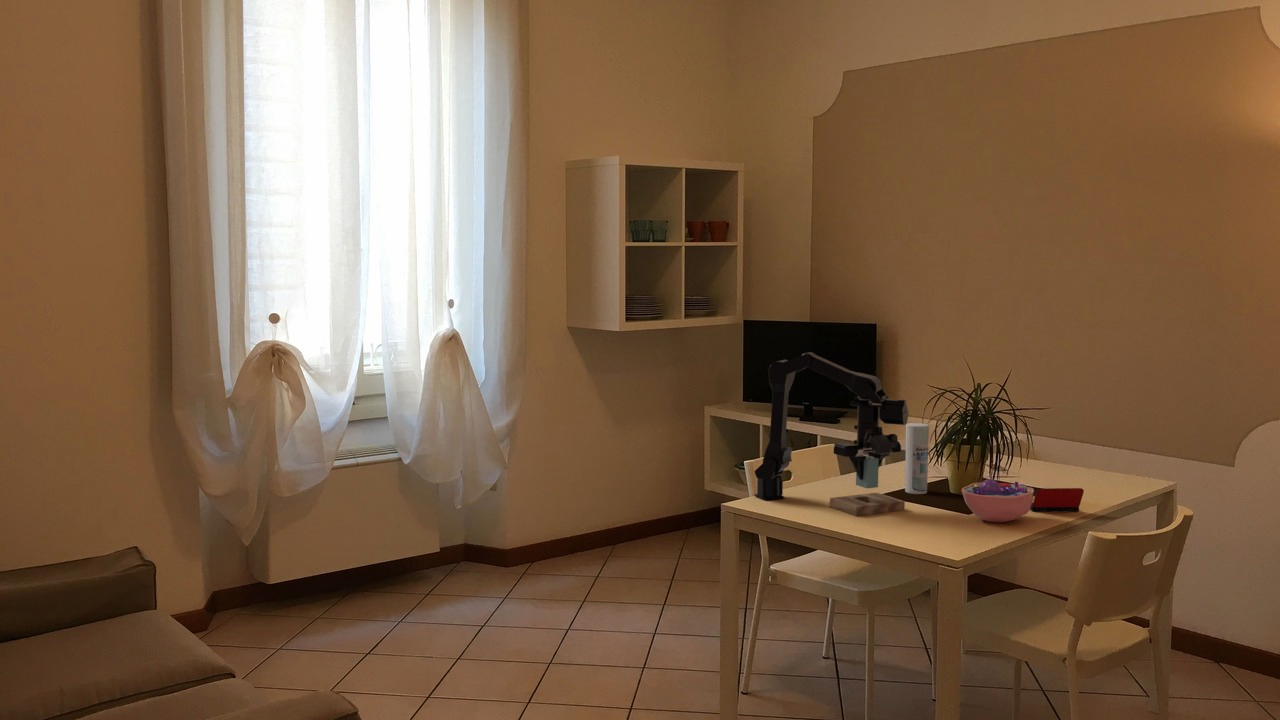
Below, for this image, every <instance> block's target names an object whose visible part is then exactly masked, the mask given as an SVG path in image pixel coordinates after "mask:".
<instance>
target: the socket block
mask: <svg viewBox="0 0 1280 720" xmlns="http://www.w3.org/2000/svg"><path fill="white" fill-rule="evenodd" d="M905 504H906V502H905V500H901V499H898V498H895V497H892V496H889V495H886V494H883V493H879V492H870V493H861V494H854V495H845V496H835V497H829V507H830V508H831V507H833V508H832V509H834V508H835V509H834V510H837V509H838V510H837V511H841V512H843V513H846V514H849V515H851V516H854V517H862V516H870V515H877V514H885V513H893V512H894V513H895V512H901V511H903V512H904V511H905V507H906V506H905Z"/></svg>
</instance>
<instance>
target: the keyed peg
mask: <svg viewBox="0 0 1280 720" xmlns="http://www.w3.org/2000/svg"><path fill="white" fill-rule="evenodd" d="M863 456H867V457H866V459H865V460H864V474H863V480H860V479H859V477H858V475H857V472H856V471H855V486H859V487H860V488H861V487H862V488H863V489H876V488H879V468H878V463H879V458H876V457H872V456H869V454H865V453H863Z"/></svg>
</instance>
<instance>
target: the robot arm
mask: <svg viewBox="0 0 1280 720" xmlns="http://www.w3.org/2000/svg"><path fill="white" fill-rule="evenodd" d="M806 369H809V370H812V371H814V372H816V373H818V374H820V375H823V376H825V377H827V378H828V379H830V380H833V381H835V382H838V383H840V384H842V385H844V386H846V387H847V388H848V389H849V390H850V392H852V393H853V394H854V395H856V396H855V398H854V399H853V400H852V401H851V402H849V405H850V406H853V407H854V406H855V407H857V417H856V419H857V424H854V427H853V428H854V430H856V439H854V440H853V444H852V443H848V442H840V443H835V445H834V446H833V454H834V455H837V456H841V457H845V458H846V457H847V458H849V459H850V462H851V463H852V465H853V467H854V469H855V473H856V472H857V475H858V477H859V479H860V480H863V474H864V460H865V459H866V457H867V456H863V454H864V452H867V453H868V454H867V455H868V456H872V457H876V458H879V463H878V469H879V468H880V466H881V464H882V462H883V460H884V459H885V458H886V457H889V456H890V453H902V445H901V443H900V441H898V439H899V438H898V435H896V433H889V434H884V433H883V427H882V426H880V422H882V423H883V424H885V425H886V424H887V425H900V426H906V424H908V419H909V410H908V405H907V400H906V399H905V398H904V399H902V398H901V399H890V397H889V396H888V395H887V393H886V392H885V391H884V389H883V385H882V383H881V379H879V377H877V376H875V375H871V374H868V373H867V374H866V373H863V372H858V371H857V372H856V371H853V370H850V369H848V368H846V367H844V366H841V365H839V364H837V363H835V362H832V361H830V360H828V359H826V358H823V357H821V356H819V355H817V354H815V353H814V352H812V351H811V352H805V353H803V354H801V355H799V356H796V357H793V358H791V359H789V360H788V359H782V360H777V361H774V362H773V363H771V364H770V365H769V367H768V370H767V371H768V372H767V373H768V382H769V385H770V388H771V391H772V395H771V396H772V398H771V413H770V426H769V427H770V428H769V429H770V430H769V441H768V443H767V446H766V448H765V451H764V454H763V459H762V464H761V465H760V466H759V467H758V468H756V469H755V470H754V474H755V477H756V478H757V486H756V487H757V488H756V490H757V493H754V497H755V498H759V499H761V500H764V501H772V500H779V499H781V500H782V499H785V496H784V495H783V488H784V486H783V484H784V482H783V480H782V475H783V473H784V471H785V470H786V469H787V468H788V467H789V465H790V463H791V462H792V461H793V460H792V452H793V448H792V447H788V444H787V441H786V439H787V437H786V436H787V425H788V424H787V421H788V409H789V394H790V393H789V392H790V390H791V388H792V385H793V383H794V380H795V376H796V374H797V373H799V372H801V371H803V370H806Z"/></svg>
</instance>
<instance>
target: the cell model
mask: <svg viewBox="0 0 1280 720" xmlns="http://www.w3.org/2000/svg"><path fill="white" fill-rule="evenodd" d="M1034 492H1035V490H1034V488H1033V487H1030V486H1026V485H1025V484H1022V483H1019V482H1018V481H1014V483H1006V482H998V481H997V480H995V479H994V478H987V479H985V480H983V481H982V482H973V483H971V484H969V485H967V486H964V487H962V488H961V493H962V496H963V499H964V502H965V504H966V505H967V507H968V508H969V510H970V511H971V512H972V513H973V514H974V515H975V516H976V517H978V518H980V519H981V520H983V521H985V522H991V523H1007V522H1010V521H1014V520H1017V519H1019V518H1020V517H1022V516H1025V515H1027V514H1028V513H1029V511H1031V510H1030V507H1031V504H1032V503H1033V502H1034Z"/></svg>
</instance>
